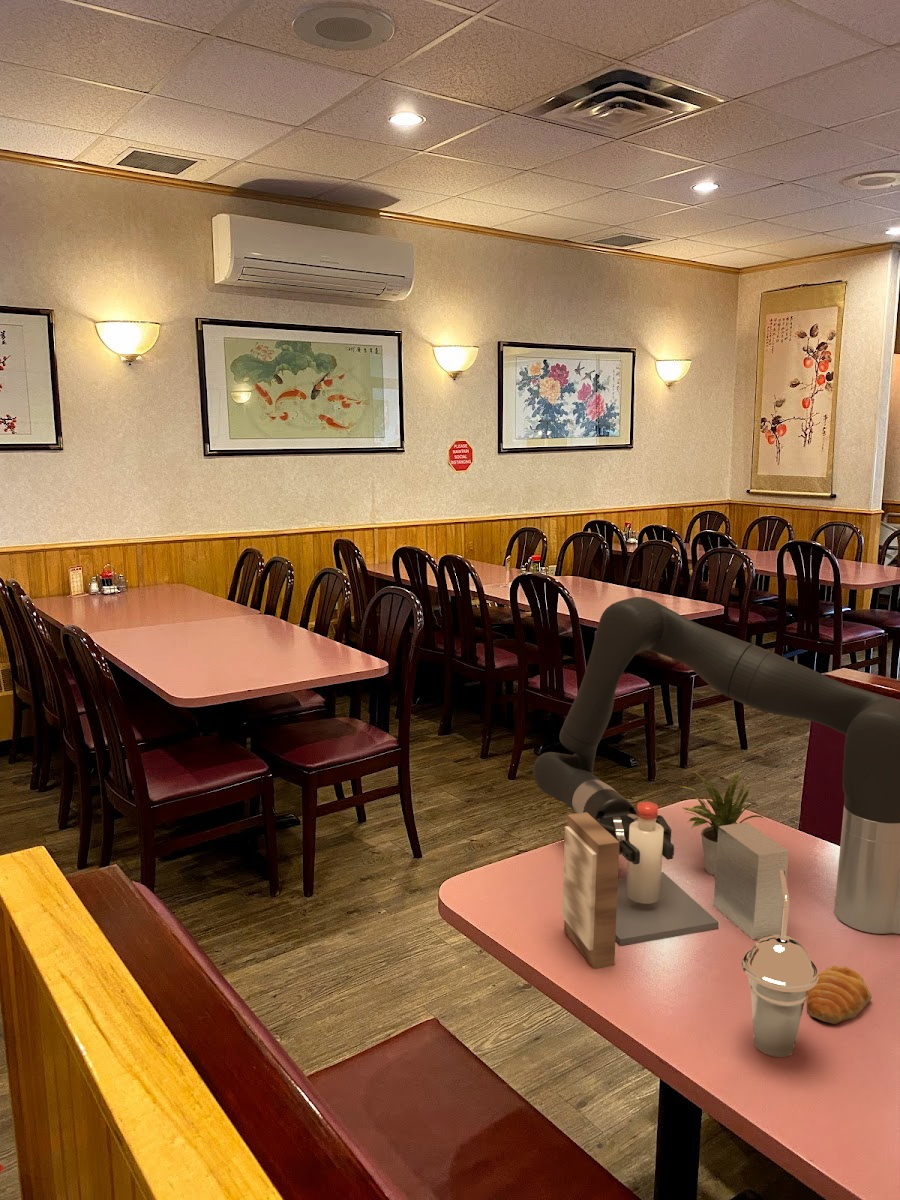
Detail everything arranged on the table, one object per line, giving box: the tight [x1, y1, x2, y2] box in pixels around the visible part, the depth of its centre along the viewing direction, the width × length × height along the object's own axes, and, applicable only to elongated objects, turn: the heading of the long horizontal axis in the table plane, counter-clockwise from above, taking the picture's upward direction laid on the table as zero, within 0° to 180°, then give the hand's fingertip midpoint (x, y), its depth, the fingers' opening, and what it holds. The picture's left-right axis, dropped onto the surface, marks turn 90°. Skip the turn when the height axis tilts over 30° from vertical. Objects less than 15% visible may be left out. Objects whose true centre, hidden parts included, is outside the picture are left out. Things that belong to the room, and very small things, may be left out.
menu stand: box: [561, 812, 620, 969], centre depth 127 cm, size 10×4×18 cm, turn 17°
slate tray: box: [615, 871, 719, 946], centre depth 139 cm, size 16×16×1 cm
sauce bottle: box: [626, 801, 664, 904], centre depth 138 cm, size 5×5×14 cm
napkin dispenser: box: [713, 821, 790, 940], centre depth 135 cm, size 10×5×13 cm, turn 17°
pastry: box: [806, 965, 873, 1025], centre depth 116 cm, size 9×7×4 cm
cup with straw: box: [741, 870, 819, 1058], centre depth 107 cm, size 8×9×20 cm
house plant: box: [678, 770, 764, 877], centre depth 152 cm, size 14×14×16 cm
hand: (654, 855), depth 135 cm, fingers closed on sauce bottle, 5 cm apart
